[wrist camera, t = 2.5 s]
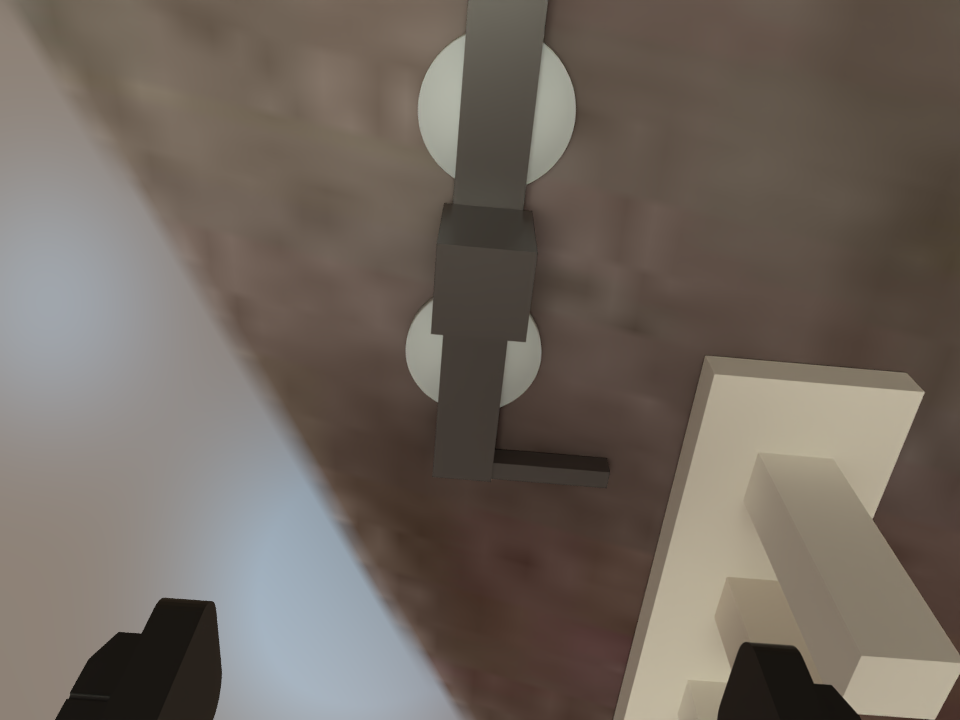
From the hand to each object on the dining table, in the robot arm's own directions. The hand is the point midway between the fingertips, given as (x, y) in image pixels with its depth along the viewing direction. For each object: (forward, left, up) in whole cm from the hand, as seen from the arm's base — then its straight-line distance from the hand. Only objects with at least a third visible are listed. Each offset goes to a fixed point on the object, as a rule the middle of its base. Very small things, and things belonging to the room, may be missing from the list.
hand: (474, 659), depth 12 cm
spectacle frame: (0, +2, -19) cm, 19 cm away
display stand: (+15, +13, -19) cm, 27 cm away
